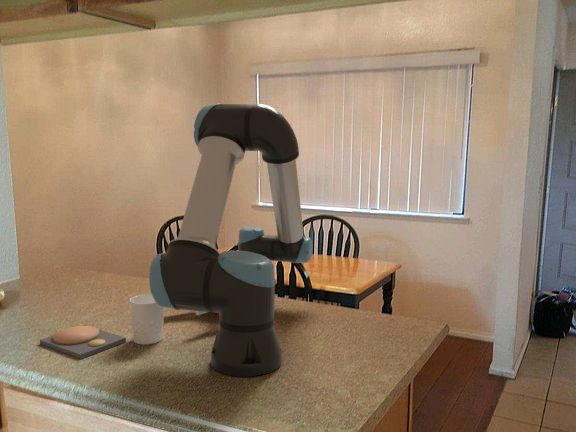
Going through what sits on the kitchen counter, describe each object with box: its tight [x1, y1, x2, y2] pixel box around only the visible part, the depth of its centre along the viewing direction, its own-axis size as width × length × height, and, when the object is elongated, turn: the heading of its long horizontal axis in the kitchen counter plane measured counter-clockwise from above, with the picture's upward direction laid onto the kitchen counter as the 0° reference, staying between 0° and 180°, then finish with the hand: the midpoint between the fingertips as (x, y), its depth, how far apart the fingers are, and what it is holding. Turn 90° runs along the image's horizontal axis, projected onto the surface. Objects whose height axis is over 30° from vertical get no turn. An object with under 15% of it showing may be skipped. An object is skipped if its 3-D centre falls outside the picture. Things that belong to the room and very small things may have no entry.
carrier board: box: [39, 324, 127, 360], centre depth 119 cm, size 15×12×2 cm
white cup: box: [129, 293, 165, 346], centre depth 121 cm, size 8×8×10 cm
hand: (176, 304), depth 129 cm, fingers open, 13 cm apart
